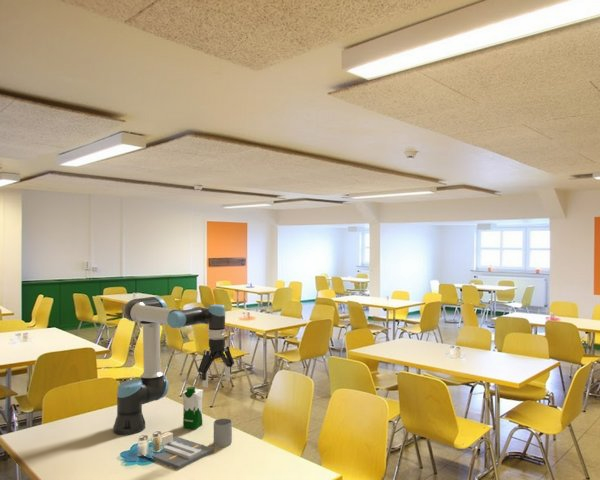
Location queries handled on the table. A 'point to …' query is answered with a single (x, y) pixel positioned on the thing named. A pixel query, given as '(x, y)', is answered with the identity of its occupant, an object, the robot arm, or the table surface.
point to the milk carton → (192, 408)
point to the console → (182, 453)
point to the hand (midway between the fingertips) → (216, 383)
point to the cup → (222, 432)
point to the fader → (167, 438)
